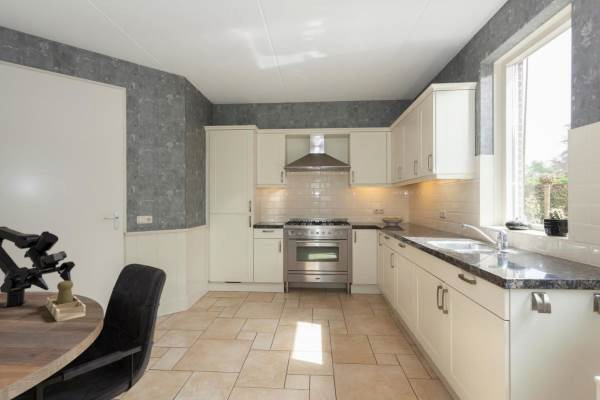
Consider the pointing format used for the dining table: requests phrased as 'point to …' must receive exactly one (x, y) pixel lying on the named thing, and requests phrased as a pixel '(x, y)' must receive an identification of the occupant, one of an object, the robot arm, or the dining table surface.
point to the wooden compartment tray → (65, 308)
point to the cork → (64, 292)
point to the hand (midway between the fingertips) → (59, 286)
